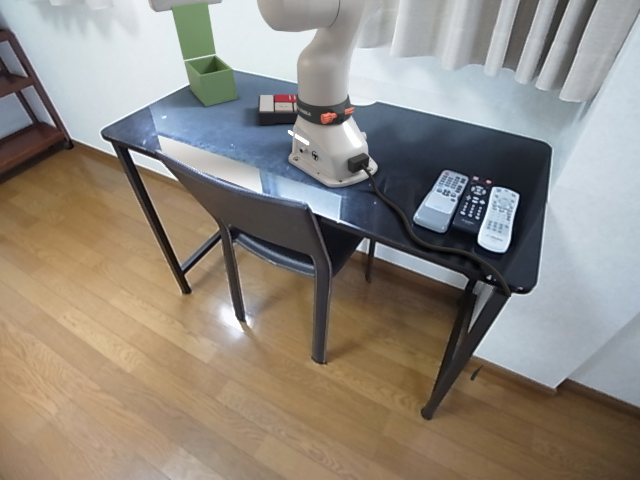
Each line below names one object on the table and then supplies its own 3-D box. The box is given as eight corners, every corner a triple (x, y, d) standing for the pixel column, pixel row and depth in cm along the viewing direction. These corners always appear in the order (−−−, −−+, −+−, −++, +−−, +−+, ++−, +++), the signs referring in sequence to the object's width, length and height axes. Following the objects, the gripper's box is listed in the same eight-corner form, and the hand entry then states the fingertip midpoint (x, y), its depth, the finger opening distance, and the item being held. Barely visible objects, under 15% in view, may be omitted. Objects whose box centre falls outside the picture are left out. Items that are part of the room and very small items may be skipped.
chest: (237, 98, 114) (232, 69, 108) (205, 106, 110) (199, 76, 104) (221, 83, 122) (215, 55, 116) (191, 90, 118) (183, 61, 112)
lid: (207, 1, 105) (206, 1, 105) (171, 6, 101) (170, 5, 101) (216, 54, 115) (215, 53, 116) (183, 60, 112) (183, 59, 112)
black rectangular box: (313, 110, 100) (257, 110, 99) (313, 125, 103) (258, 125, 102) (310, 93, 108) (258, 92, 107) (310, 107, 111) (259, 107, 110)
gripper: (142, -28, 92) (159, 33, 102) (220, -36, 100) (229, 22, 110) (136, -32, 96) (153, 27, 106) (211, -39, 104) (221, 17, 114)
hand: (192, 24), depth 108 cm, fingers closed, pressing on lid
